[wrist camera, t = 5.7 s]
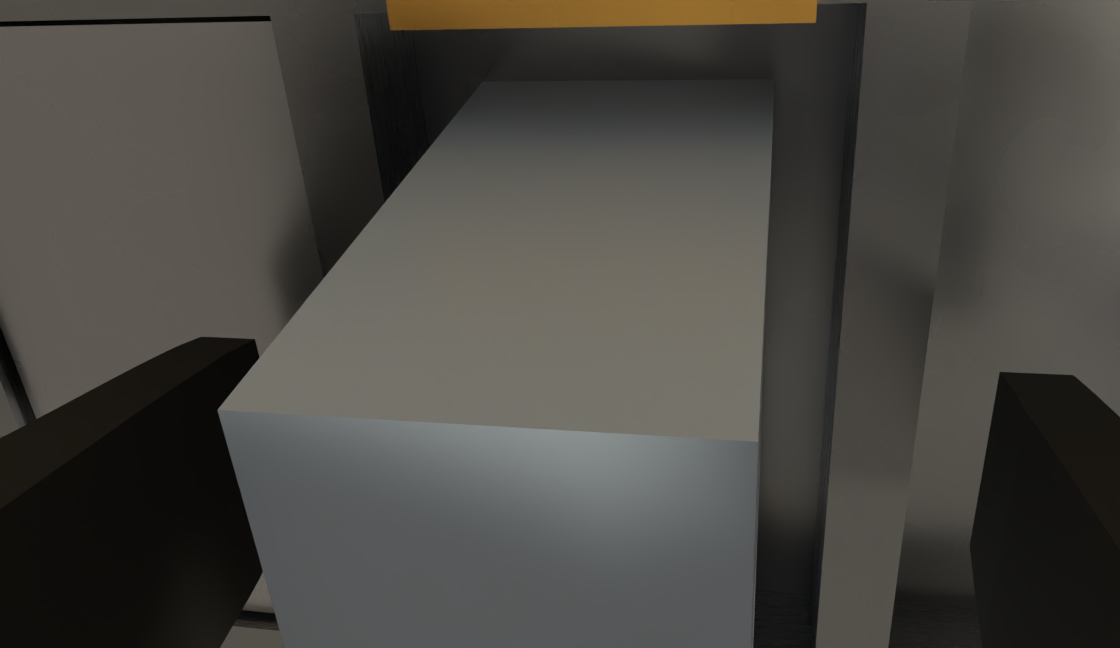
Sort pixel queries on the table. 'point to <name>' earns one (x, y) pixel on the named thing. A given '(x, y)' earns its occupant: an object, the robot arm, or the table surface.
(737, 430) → the block
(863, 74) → the rack
